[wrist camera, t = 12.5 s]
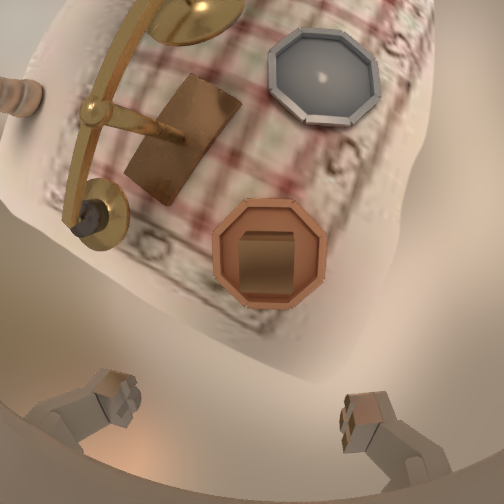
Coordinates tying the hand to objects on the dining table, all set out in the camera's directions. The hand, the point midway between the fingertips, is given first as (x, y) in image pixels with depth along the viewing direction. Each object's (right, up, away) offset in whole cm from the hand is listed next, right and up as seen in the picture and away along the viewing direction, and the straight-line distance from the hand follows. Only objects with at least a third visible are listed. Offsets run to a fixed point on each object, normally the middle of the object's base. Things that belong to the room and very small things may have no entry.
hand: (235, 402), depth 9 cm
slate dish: (+8, +25, +16) cm, 31 cm away
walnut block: (+2, +5, +21) cm, 22 cm away
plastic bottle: (-35, +31, +20) cm, 51 cm away
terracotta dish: (+3, +5, +21) cm, 22 cm away
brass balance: (-7, +18, +19) cm, 28 cm away
